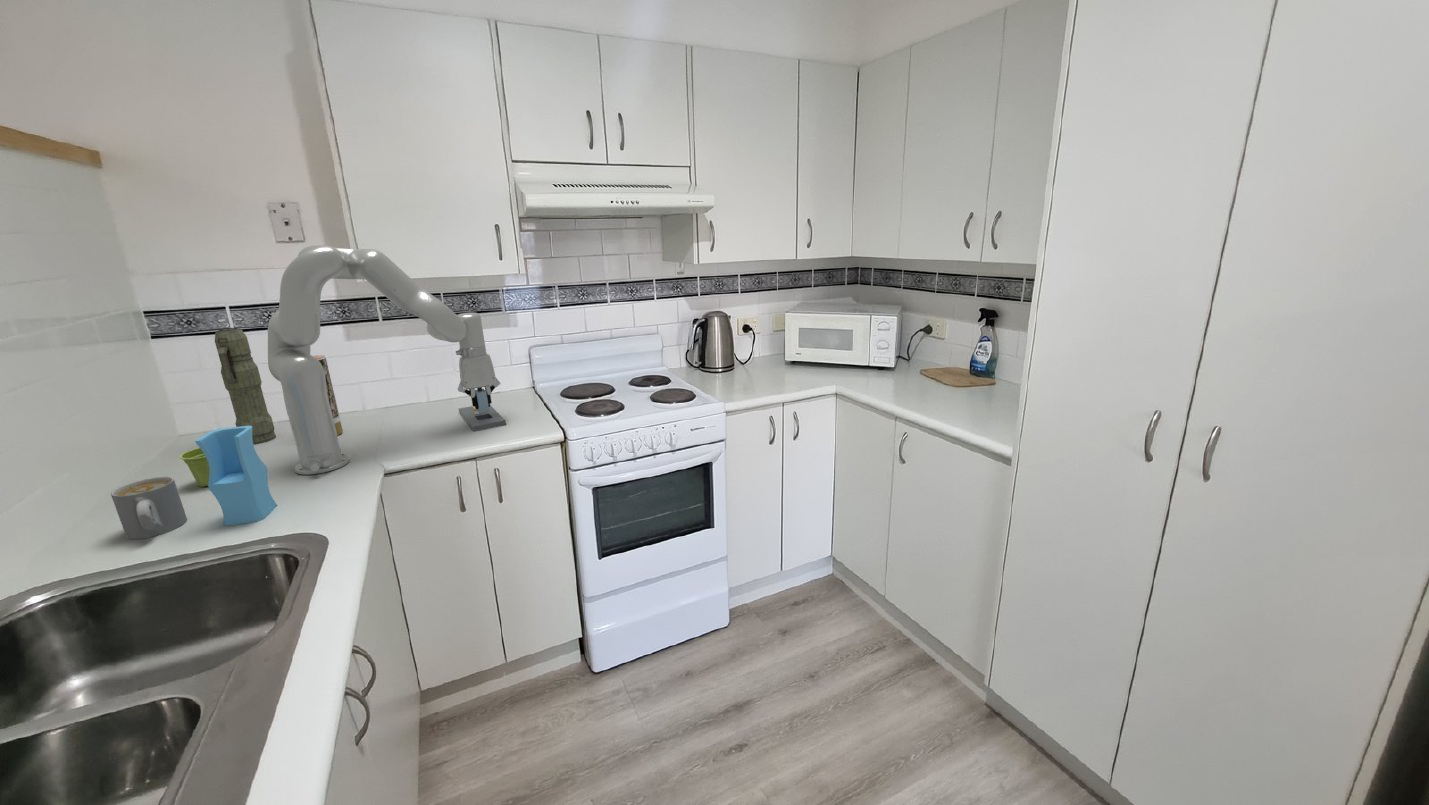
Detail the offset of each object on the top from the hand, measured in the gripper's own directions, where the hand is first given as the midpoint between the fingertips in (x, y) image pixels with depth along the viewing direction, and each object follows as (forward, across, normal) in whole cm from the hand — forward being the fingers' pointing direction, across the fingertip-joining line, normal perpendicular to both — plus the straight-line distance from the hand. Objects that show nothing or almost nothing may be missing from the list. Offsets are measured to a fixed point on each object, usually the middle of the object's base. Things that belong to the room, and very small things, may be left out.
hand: (482, 406), depth 191 cm
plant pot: (+5, -69, -7) cm, 70 cm away
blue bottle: (+2, 0, 0) cm, 2 cm away
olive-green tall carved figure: (+5, -62, +27) cm, 68 cm away
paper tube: (+5, -43, +18) cm, 47 cm away
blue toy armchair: (+5, -59, -37) cm, 70 cm away
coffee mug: (+5, -76, -33) cm, 83 cm away
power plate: (+5, 0, +4) cm, 7 cm away
